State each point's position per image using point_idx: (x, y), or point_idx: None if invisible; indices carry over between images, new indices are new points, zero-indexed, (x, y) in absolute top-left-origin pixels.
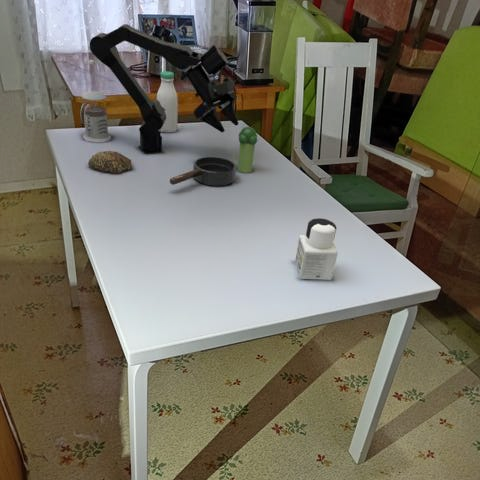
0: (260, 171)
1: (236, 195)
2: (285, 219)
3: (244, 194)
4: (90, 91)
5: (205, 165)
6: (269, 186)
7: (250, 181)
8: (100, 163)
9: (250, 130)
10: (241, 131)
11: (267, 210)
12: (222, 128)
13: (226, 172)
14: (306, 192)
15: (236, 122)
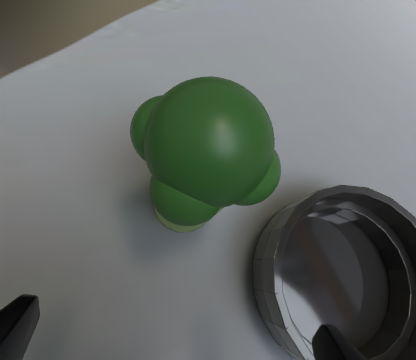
0: None
1: (384, 162)
2: (407, 32)
3: (363, 144)
4: None
5: None
6: (267, 93)
7: None
8: None
9: (251, 97)
10: (254, 179)
11: (399, 72)
12: (354, 350)
13: (397, 203)
14: (241, 2)
15: (26, 319)
